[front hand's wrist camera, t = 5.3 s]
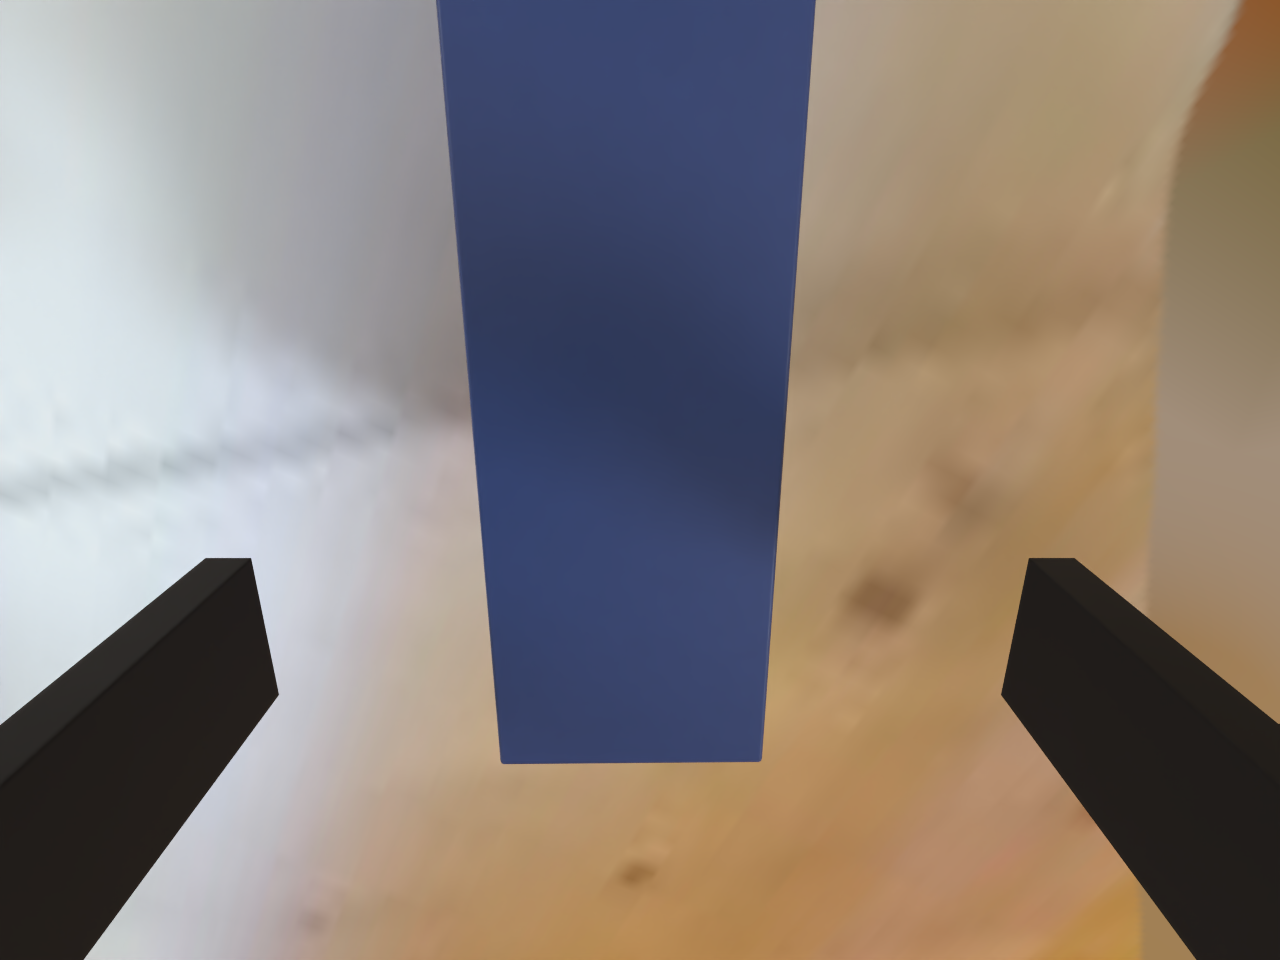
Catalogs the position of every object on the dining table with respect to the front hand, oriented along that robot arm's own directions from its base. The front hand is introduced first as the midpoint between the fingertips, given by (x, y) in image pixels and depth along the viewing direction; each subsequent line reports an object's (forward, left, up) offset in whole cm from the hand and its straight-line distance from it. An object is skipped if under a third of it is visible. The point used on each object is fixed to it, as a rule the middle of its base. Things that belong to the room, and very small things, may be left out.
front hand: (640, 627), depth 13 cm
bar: (+10, 0, -11) cm, 14 cm away
